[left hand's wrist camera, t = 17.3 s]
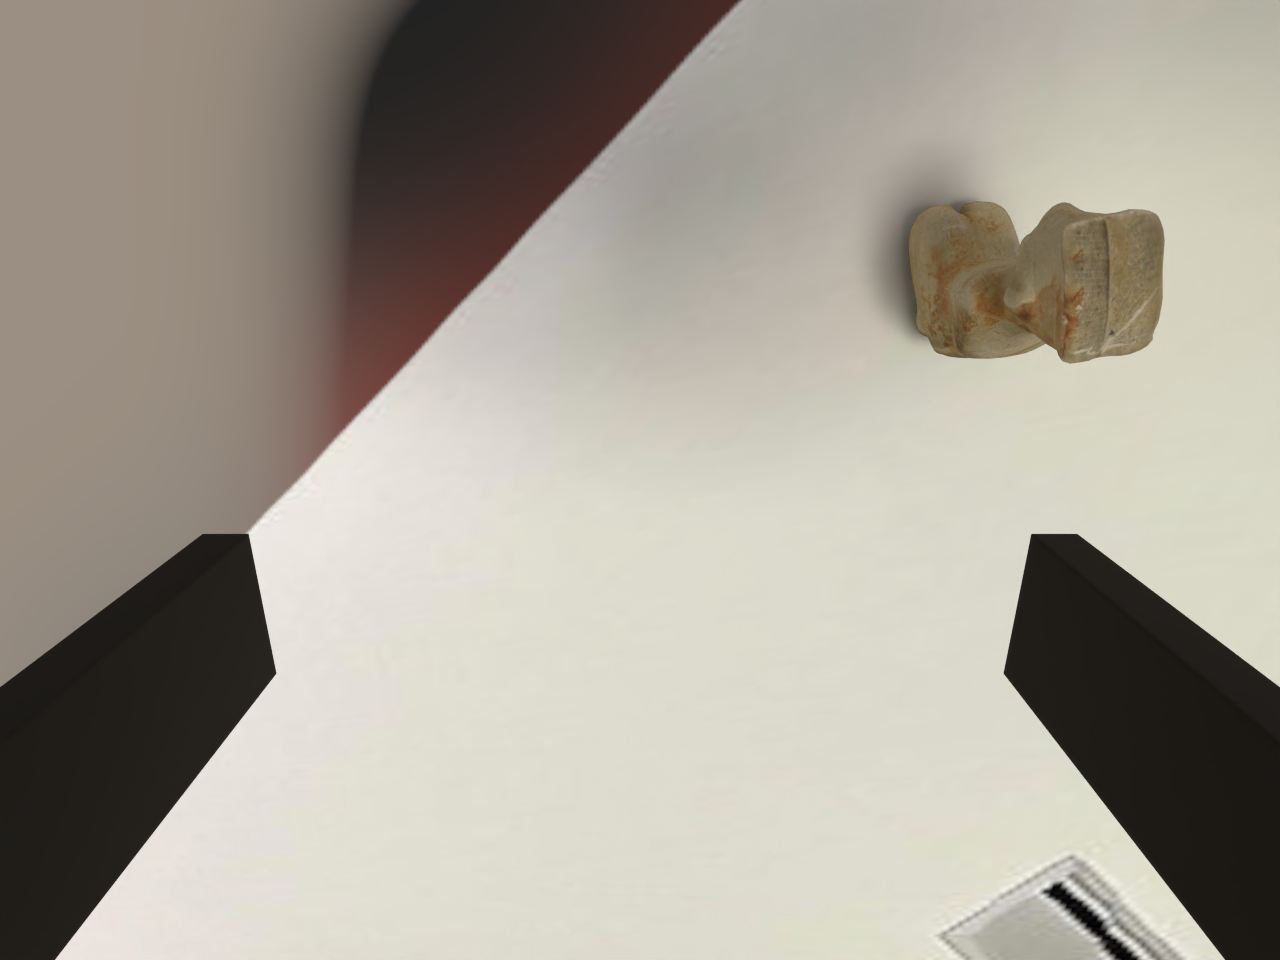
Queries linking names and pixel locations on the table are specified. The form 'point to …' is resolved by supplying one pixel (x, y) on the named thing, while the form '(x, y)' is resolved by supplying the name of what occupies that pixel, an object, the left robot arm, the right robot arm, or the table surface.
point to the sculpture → (1037, 281)
